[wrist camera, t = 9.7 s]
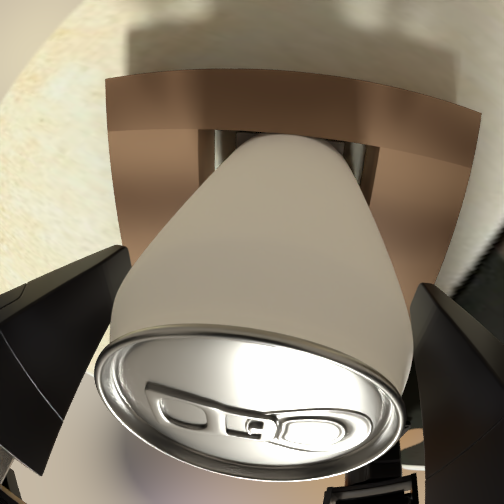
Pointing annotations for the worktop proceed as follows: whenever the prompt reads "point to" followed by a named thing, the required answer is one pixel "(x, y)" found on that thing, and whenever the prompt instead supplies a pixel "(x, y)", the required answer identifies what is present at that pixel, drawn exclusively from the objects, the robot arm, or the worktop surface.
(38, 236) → the worktop surface
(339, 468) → the can
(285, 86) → the keyhole plate
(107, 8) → the worktop surface
